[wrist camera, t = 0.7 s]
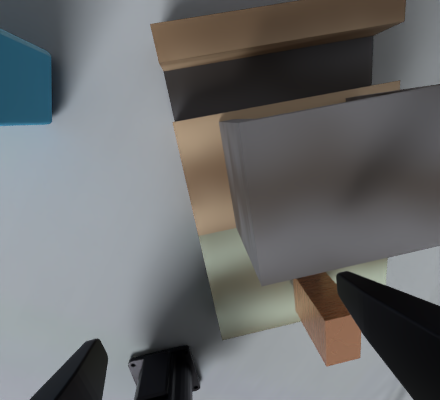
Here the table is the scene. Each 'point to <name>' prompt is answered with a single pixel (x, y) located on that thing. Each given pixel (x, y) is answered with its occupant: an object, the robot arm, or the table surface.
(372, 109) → the tunnel
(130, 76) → the table surface
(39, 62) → the data package
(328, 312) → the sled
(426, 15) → the table surface
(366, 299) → the robot arm
